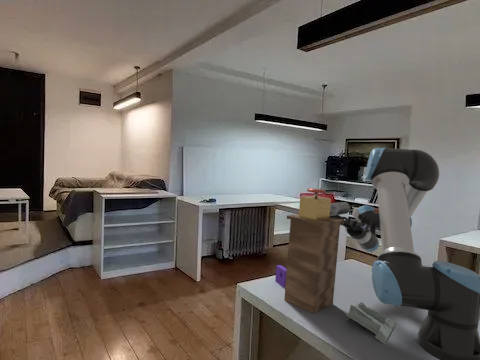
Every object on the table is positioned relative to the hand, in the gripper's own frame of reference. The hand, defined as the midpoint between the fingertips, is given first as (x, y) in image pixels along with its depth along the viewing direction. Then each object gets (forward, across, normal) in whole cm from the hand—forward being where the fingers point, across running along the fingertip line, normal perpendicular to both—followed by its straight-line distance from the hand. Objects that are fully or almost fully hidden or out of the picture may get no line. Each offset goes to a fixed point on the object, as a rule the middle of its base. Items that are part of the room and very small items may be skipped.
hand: (337, 208), depth 122 cm
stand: (-4, 0, -35) cm, 35 cm away
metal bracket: (-6, -21, -34) cm, 41 cm away
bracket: (-12, +14, -31) cm, 36 cm away
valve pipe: (+5, 0, -6) cm, 8 cm away
